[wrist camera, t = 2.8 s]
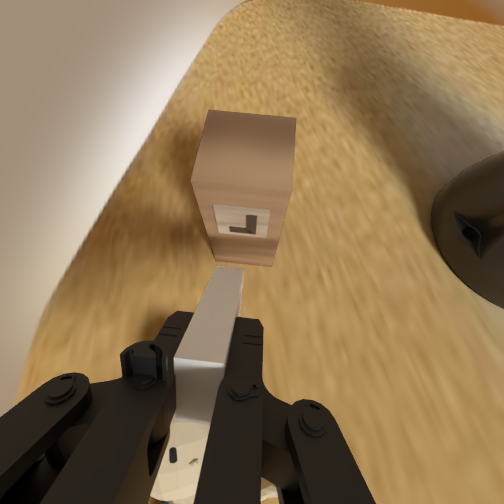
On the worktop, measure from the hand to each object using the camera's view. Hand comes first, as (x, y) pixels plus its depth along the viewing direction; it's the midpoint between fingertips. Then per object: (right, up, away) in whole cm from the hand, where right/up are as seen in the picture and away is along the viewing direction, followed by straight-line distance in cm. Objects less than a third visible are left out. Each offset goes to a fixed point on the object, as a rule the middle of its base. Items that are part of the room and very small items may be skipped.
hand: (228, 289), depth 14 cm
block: (+1, +3, +10) cm, 10 cm away
